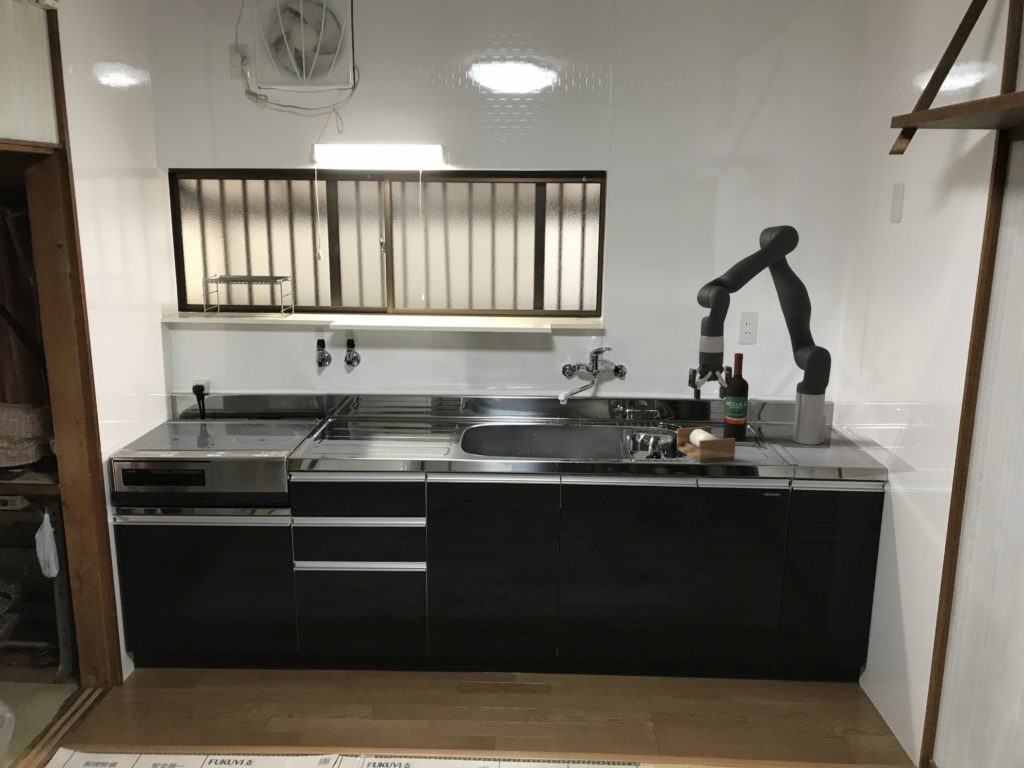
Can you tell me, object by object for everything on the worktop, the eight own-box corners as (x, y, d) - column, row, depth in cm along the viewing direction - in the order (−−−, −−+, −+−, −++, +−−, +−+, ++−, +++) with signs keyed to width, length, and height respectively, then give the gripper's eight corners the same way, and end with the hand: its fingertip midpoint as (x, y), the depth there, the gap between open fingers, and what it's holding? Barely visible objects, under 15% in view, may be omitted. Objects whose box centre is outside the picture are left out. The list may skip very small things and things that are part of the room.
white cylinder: (685, 438, 249) (697, 425, 249) (697, 449, 251) (709, 436, 251) (700, 447, 239) (713, 433, 239) (712, 458, 241) (725, 444, 241)
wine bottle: (748, 437, 265) (752, 352, 259) (742, 442, 258) (747, 356, 252) (726, 434, 268) (730, 351, 262) (720, 439, 262) (724, 354, 256)
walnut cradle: (676, 448, 252) (677, 428, 250) (709, 446, 255) (710, 425, 253) (699, 463, 237) (700, 441, 235) (734, 459, 239) (735, 438, 238)
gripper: (725, 346, 244) (723, 395, 247) (685, 349, 240) (684, 398, 244) (738, 350, 237) (735, 400, 240) (696, 352, 233) (695, 403, 237)
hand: (709, 399), depth 242 cm, fingers open, 8 cm apart
